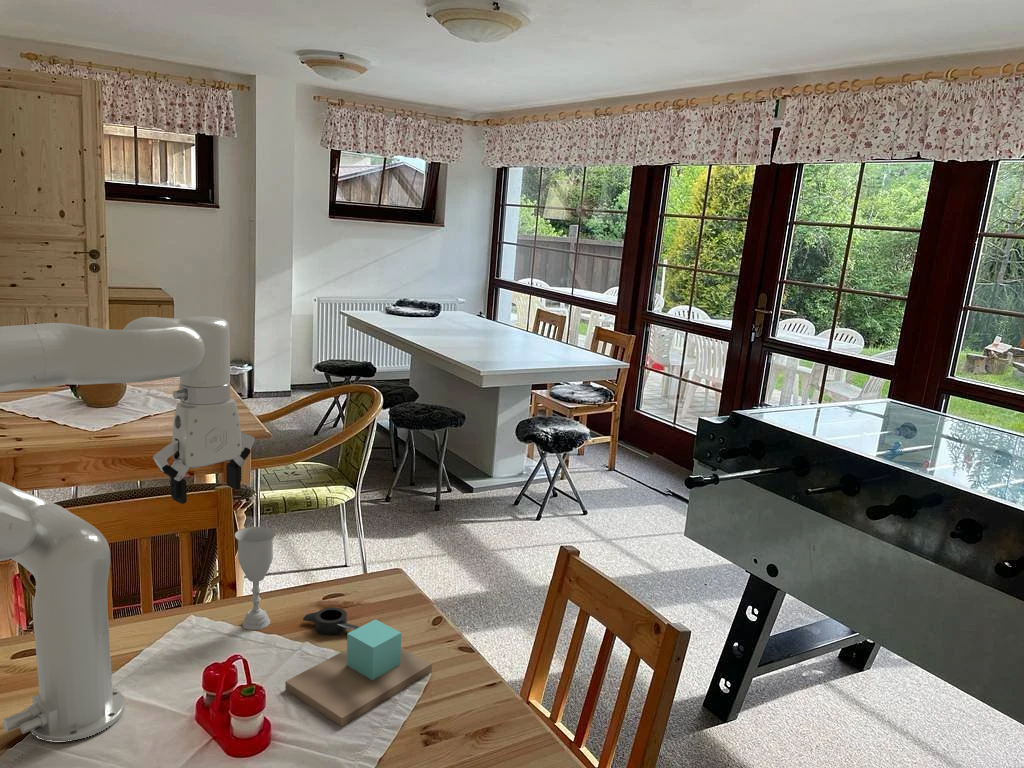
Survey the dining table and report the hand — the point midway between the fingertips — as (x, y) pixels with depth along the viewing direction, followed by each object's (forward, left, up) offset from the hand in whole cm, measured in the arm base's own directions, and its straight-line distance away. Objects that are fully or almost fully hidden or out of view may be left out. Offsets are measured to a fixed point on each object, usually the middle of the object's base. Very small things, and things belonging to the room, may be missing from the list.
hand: (207, 494), depth 128 cm
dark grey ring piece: (+20, -7, -31) cm, 37 cm away
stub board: (+13, -24, -30) cm, 40 cm away
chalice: (+12, +4, -30) cm, 33 cm away
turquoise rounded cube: (+16, -24, -29) cm, 40 cm away
